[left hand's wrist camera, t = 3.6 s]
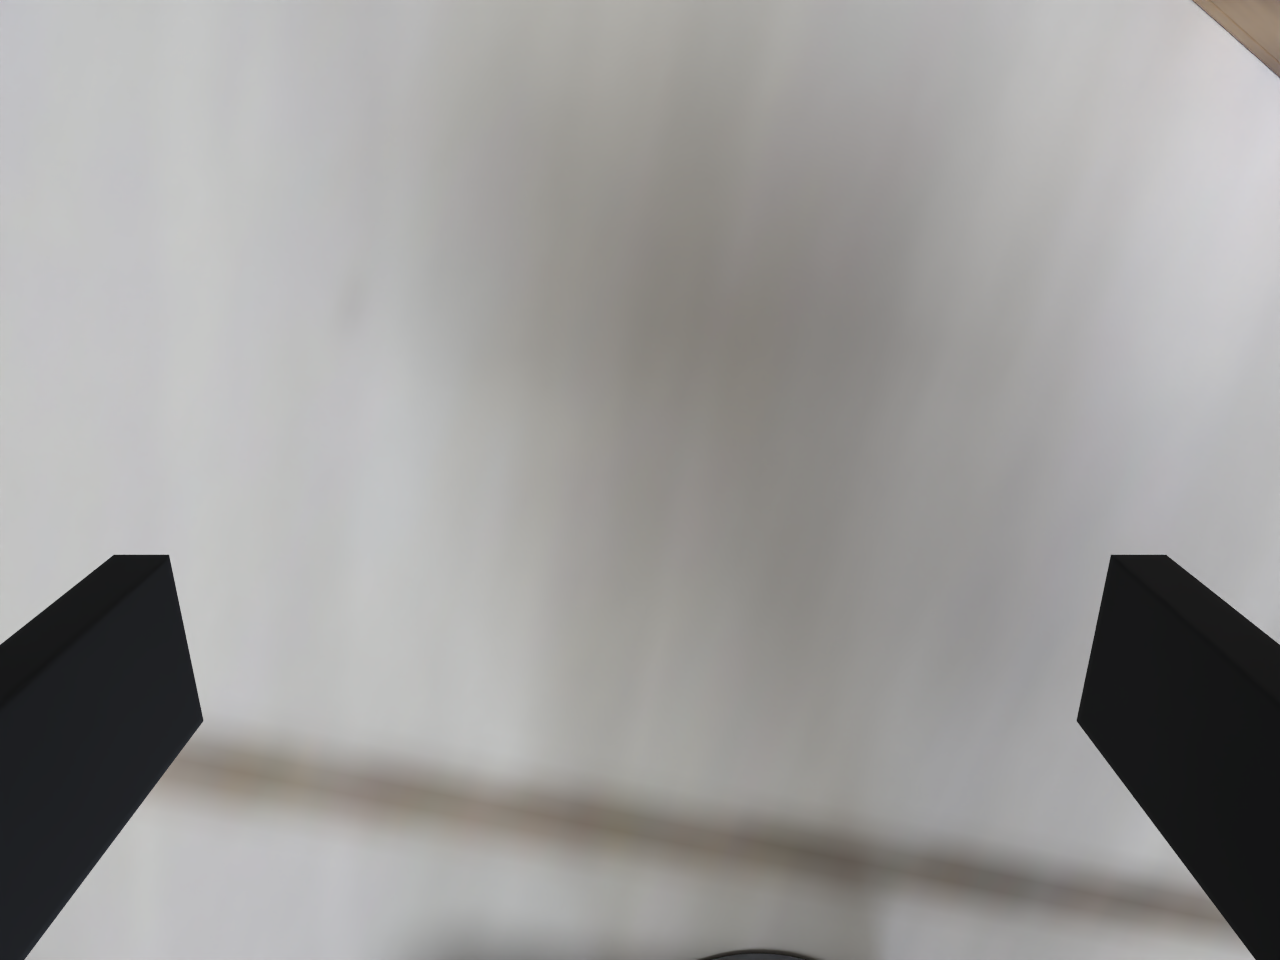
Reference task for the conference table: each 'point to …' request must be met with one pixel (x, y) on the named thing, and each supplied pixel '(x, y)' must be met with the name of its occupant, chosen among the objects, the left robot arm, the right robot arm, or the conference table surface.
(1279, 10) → the chest
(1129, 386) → the conference table surface
